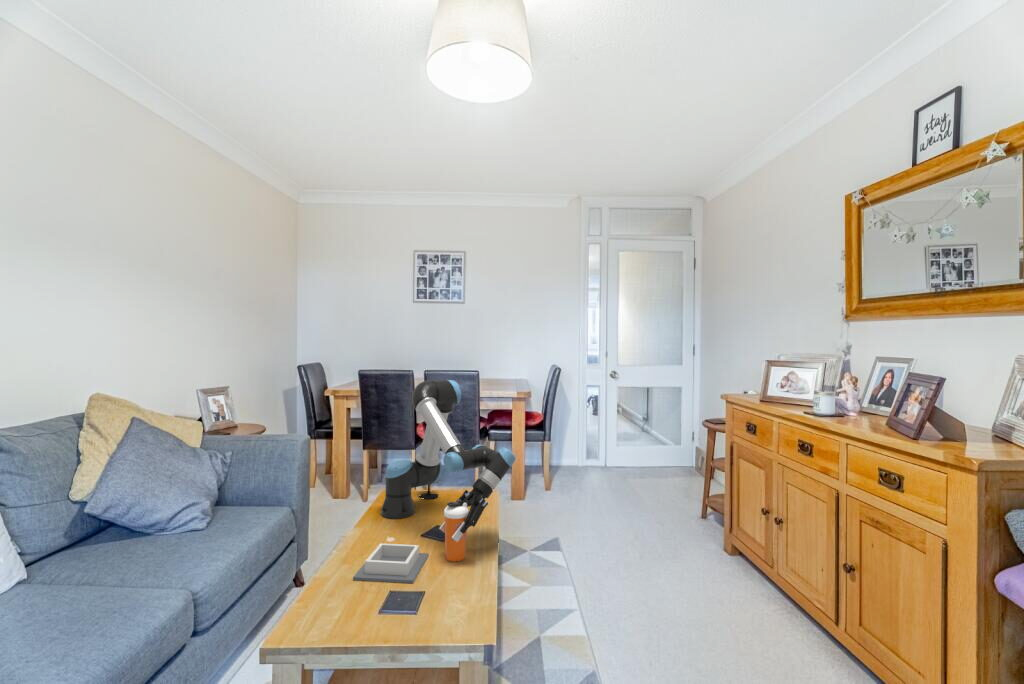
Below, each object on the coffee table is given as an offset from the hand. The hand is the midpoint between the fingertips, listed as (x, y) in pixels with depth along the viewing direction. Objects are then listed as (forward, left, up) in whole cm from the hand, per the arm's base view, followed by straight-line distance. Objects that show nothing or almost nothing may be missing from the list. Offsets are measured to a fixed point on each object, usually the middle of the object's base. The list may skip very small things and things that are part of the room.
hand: (448, 535), depth 167 cm
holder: (+8, -18, -9) cm, 21 cm away
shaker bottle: (-2, +2, -9) cm, 10 cm away
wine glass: (-69, -25, -9) cm, 74 cm away
